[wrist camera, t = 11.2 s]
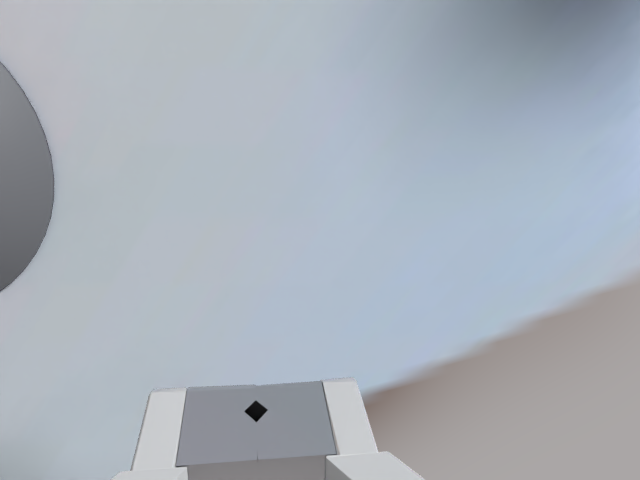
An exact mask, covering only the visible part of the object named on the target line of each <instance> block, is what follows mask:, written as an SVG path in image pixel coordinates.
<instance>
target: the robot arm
mask: <svg viewBox="0 0 640 480" xmlns="http://www.w3.org/2000/svg"><path fill="white" fill-rule="evenodd" d="M111 480H425V479H424V478H422V477H421V476H420V475H419V474H417V473H416V472H415V471H413V470H412V469H411V468H409V467H408V466H407V465H406V464H404V463H403V462H402V461H400V460H399V459H398V458H396V457H395V456H394V455H392V454H391V453H390V452H378V449H377V446H376V443H375V440H374V436H373V433H372V430H371V427H370V424H369V420H368V417H367V414H366V410H365V408H364V404H363V401H362V398H361V394H360V391H359V388H358V385H357V381H356V380H355V379H354V378H353V377H347V378H336V379H325V380H321V381H313V382H298V383H282V384H267V385H233V386H206V387H189V388H186V387H183V388H165V389H153V391H152V392H151V393H150V395H149V397H148V401H147V405H146V409H145V413H144V417H143V421H142V425H141V430H140V434H139V438H138V442H137V446H136V450H135V454H134V458H133V462H132V466H131V470H130V471H124V472H118V473H117V474H116V475H115V476H114V477H113V478H112V479H111Z"/></svg>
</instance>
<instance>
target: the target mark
mask: <svg viewBox="0 0 640 480" xmlns="http://www.w3.org/2000/svg"><path fill="white" fill-rule="evenodd" d="M53 201H54V174H53V166H52V159H51V154H50V151H49V147H48V143H47V140H46V136H45V133H44V131H43V129H42V126H41V124H40V122H39V119H38V117H37V114H36V112H35V111H34V109H33V107H32V105H31V104H30V102H29V100H28V98H27V97H26V95H25V93H24V91H23V90H22V89H21V87H20V86H19V84H18V83H17V82H16V80H15V79H14V78H13V76H12V75H11V74H10V72H9V71H8V70H7V69H6V67H5V66H4V65H3V64H2V63H1V62H0V291H1V290H2V289H3V288H5V287H6V286H7V285H9V284H10V283H11V282H12V281H13V280H14V279H15V278H16V277H17V276H18V275H19V274H20V273H21V272H22V271H23V270H24V269H25V268H26V266H27V265H28V264H29V262H30V261H31V259H32V258H33V257H34V255H35V254H36V253H37V251H38V249H39V247H40V245H41V243H42V241H43V239H44V237H45V234H46V231H47V228H48V225H49V222H50V219H51V214H52V207H53Z"/></svg>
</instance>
